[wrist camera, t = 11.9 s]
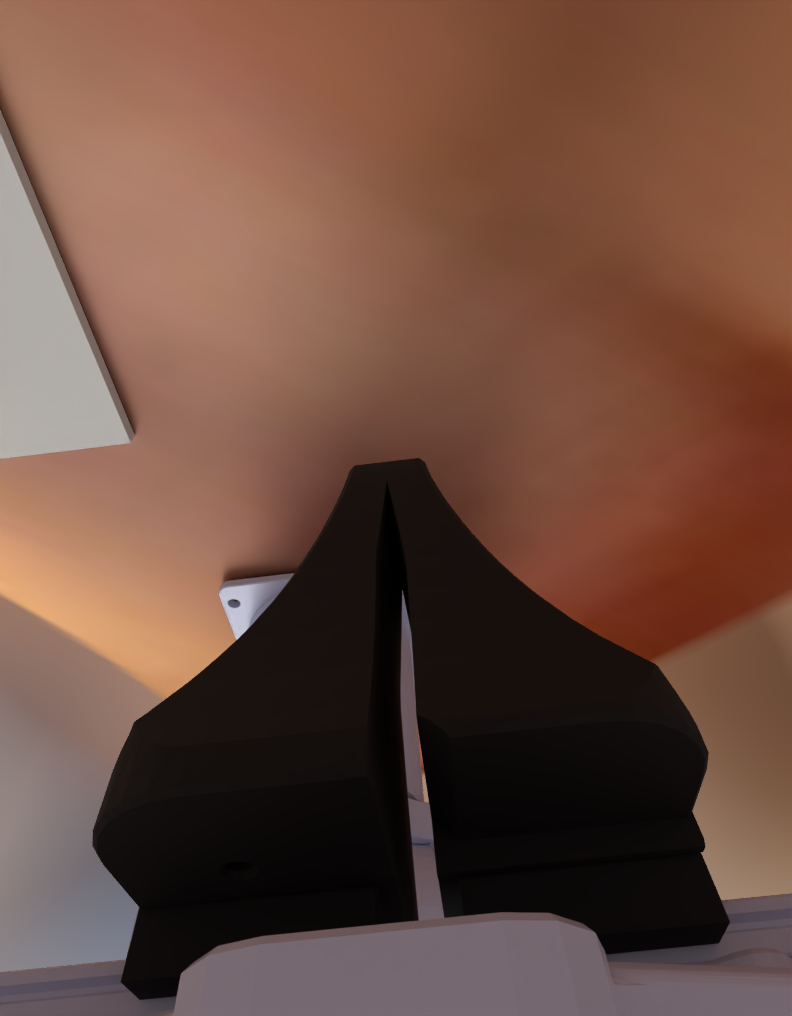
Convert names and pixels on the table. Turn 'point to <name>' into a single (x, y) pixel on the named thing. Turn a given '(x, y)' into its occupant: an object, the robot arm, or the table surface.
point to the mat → (45, 336)
